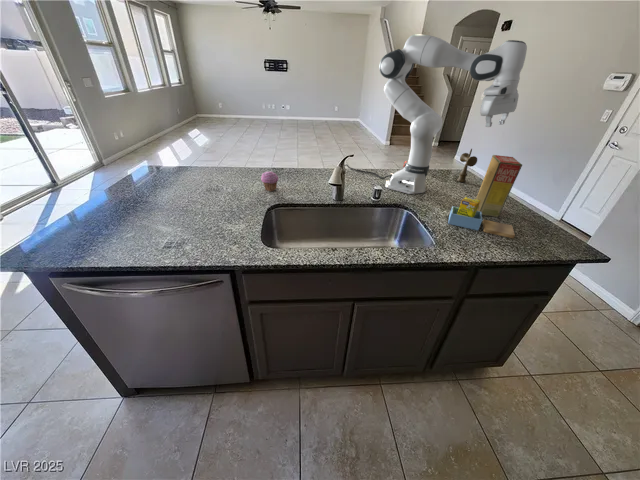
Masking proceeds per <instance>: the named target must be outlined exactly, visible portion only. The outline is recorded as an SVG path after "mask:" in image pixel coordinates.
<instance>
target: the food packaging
mask: <svg viewBox="0 0 640 480" xmlns="http://www.w3.org/2000/svg"><path fill="white" fill-rule="evenodd" d="M522 167H523V164H522V163H521V162H520V161H518V160H517V159H516V158H515V157H514V156H508V155H498V154H493V155H492V156H491V159H490V161H489V164H488V167H487V170H486V172H485V174H484V176H483V180H482V182H481V185H480V187H479V190H478V193H477V195H476V197H475V199H476V200H480V204H479V206H478V209H477V211H480V212H482V216H486V217H487V216H488V217H494V218H499V217H500V215H501V213H502V210H503V208H504V206H505V204H506V201H507V199H508V197H509V195H510V193H511V191H512V189H513V186H514V184H515V182H516V180H517V178H518V176H519V174H520V171H521V169H522Z"/></svg>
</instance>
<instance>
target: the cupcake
mask: <svg viewBox="0 0 640 480" xmlns="http://www.w3.org/2000/svg"><path fill="white" fill-rule="evenodd" d="M278 181H279V176H278V175H277V173H276V172H274V171H264V172H263V173H262V174H261V182H262V184H263V187H264V189H265V191H267V192H274V191H275V190H276V189H277V184H278Z"/></svg>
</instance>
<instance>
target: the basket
mask: <svg viewBox="0 0 640 480" xmlns="http://www.w3.org/2000/svg"><path fill="white" fill-rule="evenodd" d="M459 207H460V206H454V205H452V206H451V209H450V211H449V215H448V222H447V225H451V226H456V227H461V228H466V229H469V230H474V231H479V230H480V227H481V226H482V225H481V224H482V223H483V215H482V212H480V211H476V214H475V216H474V218H472V217H467V216H462V215H457V213H458V210H459Z"/></svg>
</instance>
